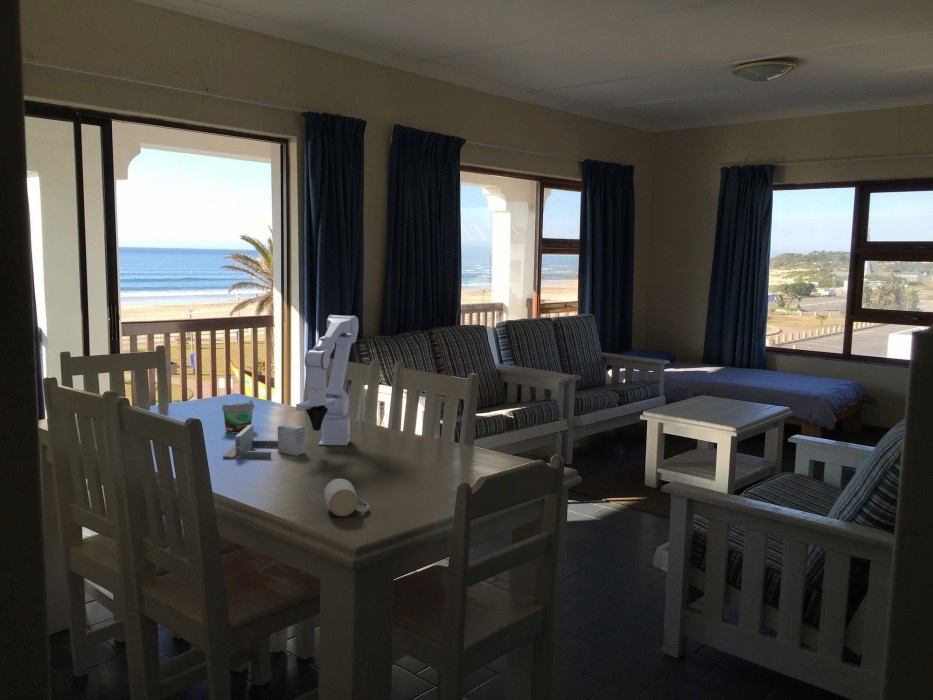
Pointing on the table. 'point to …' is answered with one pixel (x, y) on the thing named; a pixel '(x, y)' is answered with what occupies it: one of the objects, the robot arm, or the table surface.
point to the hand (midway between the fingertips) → (316, 430)
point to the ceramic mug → (343, 498)
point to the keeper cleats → (260, 453)
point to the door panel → (244, 440)
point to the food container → (237, 416)
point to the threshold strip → (230, 454)
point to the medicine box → (291, 439)
